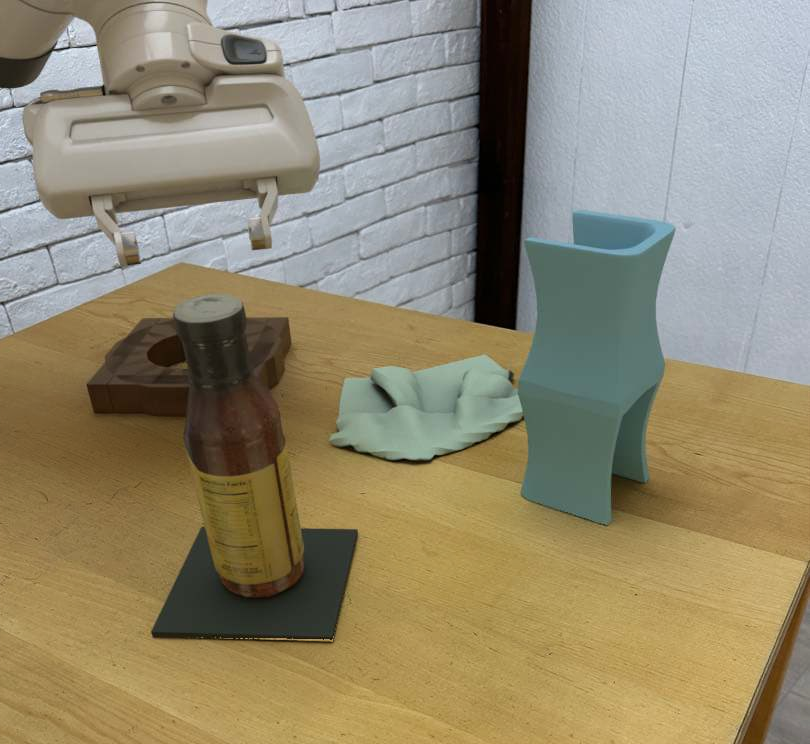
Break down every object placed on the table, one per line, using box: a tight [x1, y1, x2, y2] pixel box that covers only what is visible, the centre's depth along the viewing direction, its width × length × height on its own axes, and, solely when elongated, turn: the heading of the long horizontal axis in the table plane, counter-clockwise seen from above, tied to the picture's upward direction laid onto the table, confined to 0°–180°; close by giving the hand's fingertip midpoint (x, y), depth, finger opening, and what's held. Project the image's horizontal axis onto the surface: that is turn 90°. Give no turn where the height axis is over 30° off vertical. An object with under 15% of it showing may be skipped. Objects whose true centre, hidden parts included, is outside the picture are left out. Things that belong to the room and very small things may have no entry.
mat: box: [150, 526, 359, 640], centre depth 63 cm, size 12×12×1 cm
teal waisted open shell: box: [517, 208, 677, 526], centre depth 66 cm, size 8×8×20 cm
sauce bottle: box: [172, 293, 304, 598], centre depth 57 cm, size 6×6×20 cm
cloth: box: [328, 354, 524, 462], centre depth 83 cm, size 20×22×2 cm
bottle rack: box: [85, 316, 292, 417], centre depth 91 cm, size 17×17×3 cm
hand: (196, 253), depth 65 cm, fingers open, 8 cm apart
